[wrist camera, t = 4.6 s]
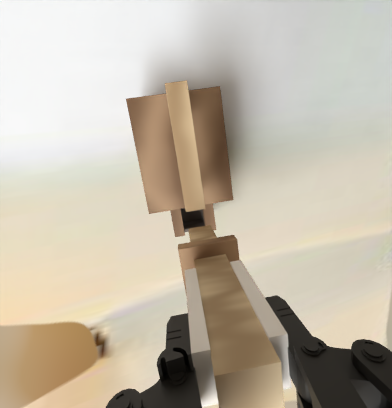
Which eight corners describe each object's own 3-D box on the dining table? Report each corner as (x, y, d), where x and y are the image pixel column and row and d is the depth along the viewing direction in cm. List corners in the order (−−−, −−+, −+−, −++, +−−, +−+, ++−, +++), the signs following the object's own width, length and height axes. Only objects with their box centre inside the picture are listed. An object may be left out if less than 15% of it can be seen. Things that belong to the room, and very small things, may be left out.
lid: (217, 89, 30) (239, 55, 20) (233, 223, 34) (258, 250, 24) (128, 101, 29) (104, 72, 19) (155, 237, 33) (146, 270, 23)
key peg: (218, 214, 24) (306, 332, 8) (223, 252, 25) (311, 427, 9) (177, 221, 23) (181, 358, 7) (184, 259, 24) (199, 453, 8)
